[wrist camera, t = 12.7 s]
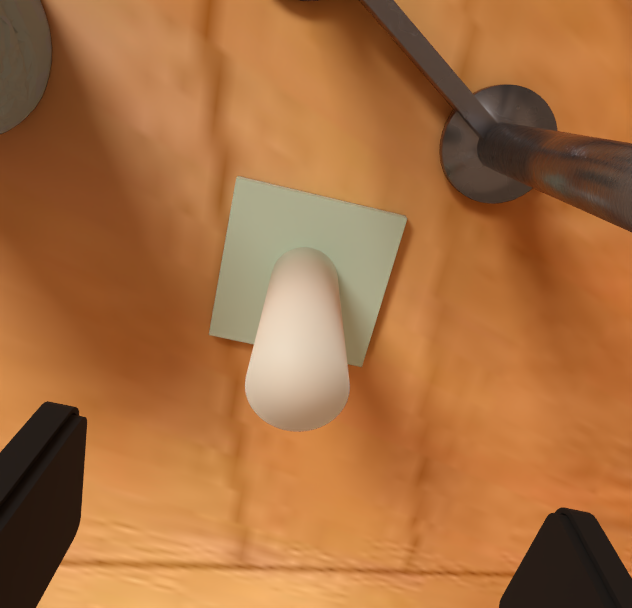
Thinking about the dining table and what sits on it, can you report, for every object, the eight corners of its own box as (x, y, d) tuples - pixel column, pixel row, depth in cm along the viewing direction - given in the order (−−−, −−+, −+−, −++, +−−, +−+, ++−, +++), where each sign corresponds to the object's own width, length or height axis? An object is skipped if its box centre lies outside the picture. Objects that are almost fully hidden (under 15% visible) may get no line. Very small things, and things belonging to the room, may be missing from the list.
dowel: (344, 255, 25) (361, 353, 16) (328, 315, 26) (335, 439, 17) (278, 240, 25) (255, 330, 15) (265, 301, 26) (236, 420, 16)
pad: (405, 215, 25) (407, 218, 24) (360, 361, 28) (361, 367, 27) (238, 175, 24) (236, 178, 23) (210, 329, 27) (208, 334, 26)
